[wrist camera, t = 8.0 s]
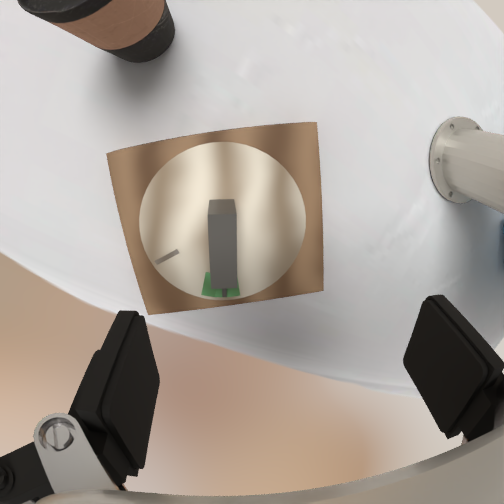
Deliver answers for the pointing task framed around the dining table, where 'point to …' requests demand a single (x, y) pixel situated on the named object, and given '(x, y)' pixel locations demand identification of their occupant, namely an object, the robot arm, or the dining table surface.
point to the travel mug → (112, 24)
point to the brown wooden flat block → (247, 207)
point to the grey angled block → (222, 244)
